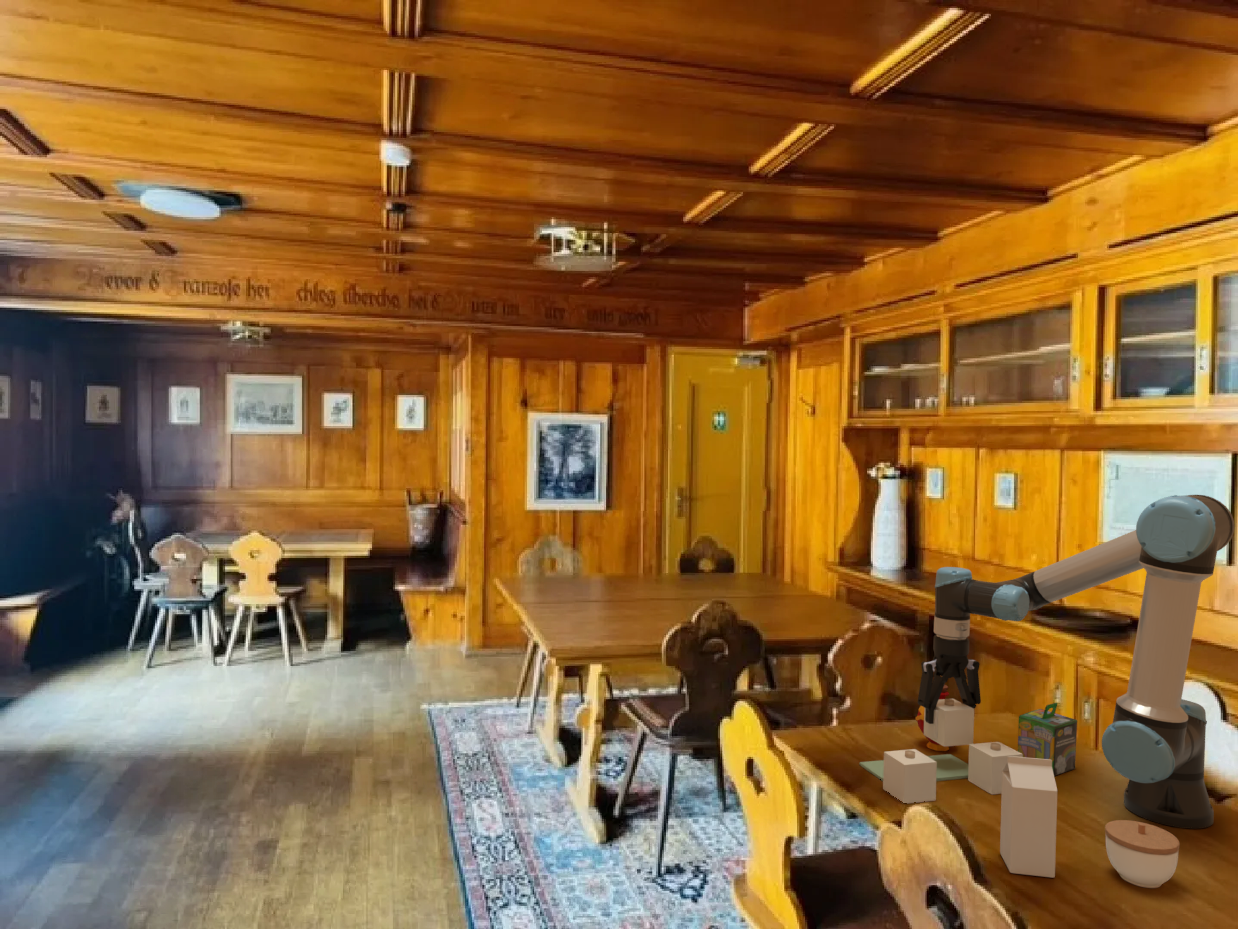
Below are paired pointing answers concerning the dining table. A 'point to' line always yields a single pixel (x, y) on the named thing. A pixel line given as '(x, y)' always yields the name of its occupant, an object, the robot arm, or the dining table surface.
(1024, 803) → the milk carton
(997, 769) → the cloche right
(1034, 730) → the chalk box
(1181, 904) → the dining table surface
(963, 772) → the felt mat
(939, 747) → the potion bottle
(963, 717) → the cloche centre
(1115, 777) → the dining table surface
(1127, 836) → the lidded jar
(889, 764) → the cloche left
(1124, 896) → the dining table surface
